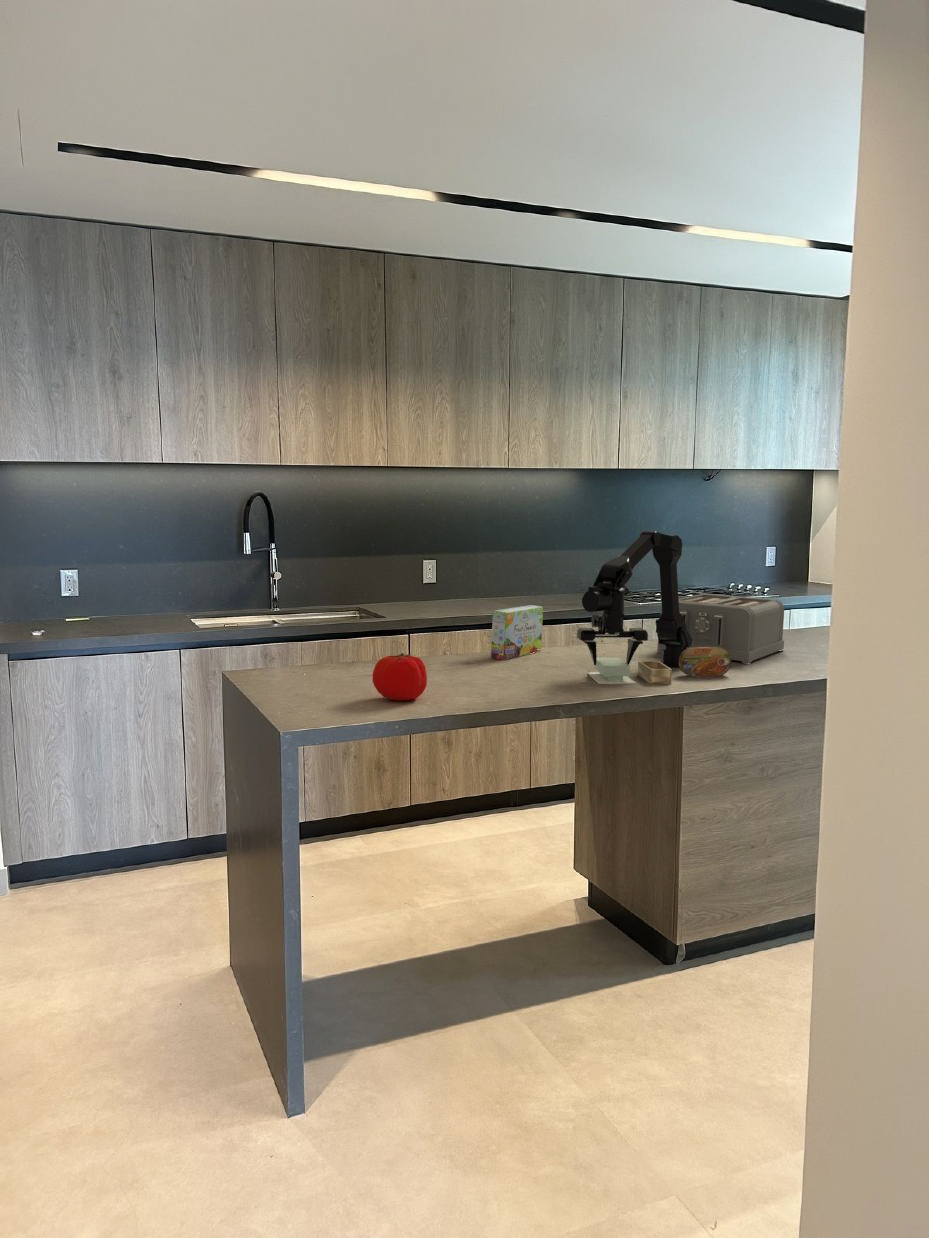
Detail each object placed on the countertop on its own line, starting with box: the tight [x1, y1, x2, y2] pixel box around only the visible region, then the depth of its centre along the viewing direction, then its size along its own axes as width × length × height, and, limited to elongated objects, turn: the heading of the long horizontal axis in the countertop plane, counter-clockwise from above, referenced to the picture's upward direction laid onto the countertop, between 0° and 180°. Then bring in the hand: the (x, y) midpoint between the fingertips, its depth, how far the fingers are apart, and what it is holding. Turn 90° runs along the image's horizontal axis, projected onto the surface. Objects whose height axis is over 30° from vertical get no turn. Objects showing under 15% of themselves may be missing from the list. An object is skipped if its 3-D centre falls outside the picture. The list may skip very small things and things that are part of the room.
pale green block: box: [592, 657, 631, 681], centre depth 257 cm, size 7×12×4 cm, turn 5°
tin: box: [678, 647, 732, 678], centre depth 263 cm, size 15×3×8 cm, turn 99°
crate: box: [637, 660, 673, 685], centre depth 257 cm, size 6×12×4 cm, turn 5°
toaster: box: [656, 593, 785, 664], centre depth 301 cm, size 31×36×17 cm
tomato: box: [371, 652, 428, 702], centre depth 227 cm, size 12×13×12 cm
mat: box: [587, 671, 636, 685], centre depth 257 cm, size 10×14×1 cm
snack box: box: [490, 604, 544, 661], centre depth 291 cm, size 21×6×15 cm, turn 143°
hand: (611, 665), depth 256 cm, fingers open, 9 cm apart
